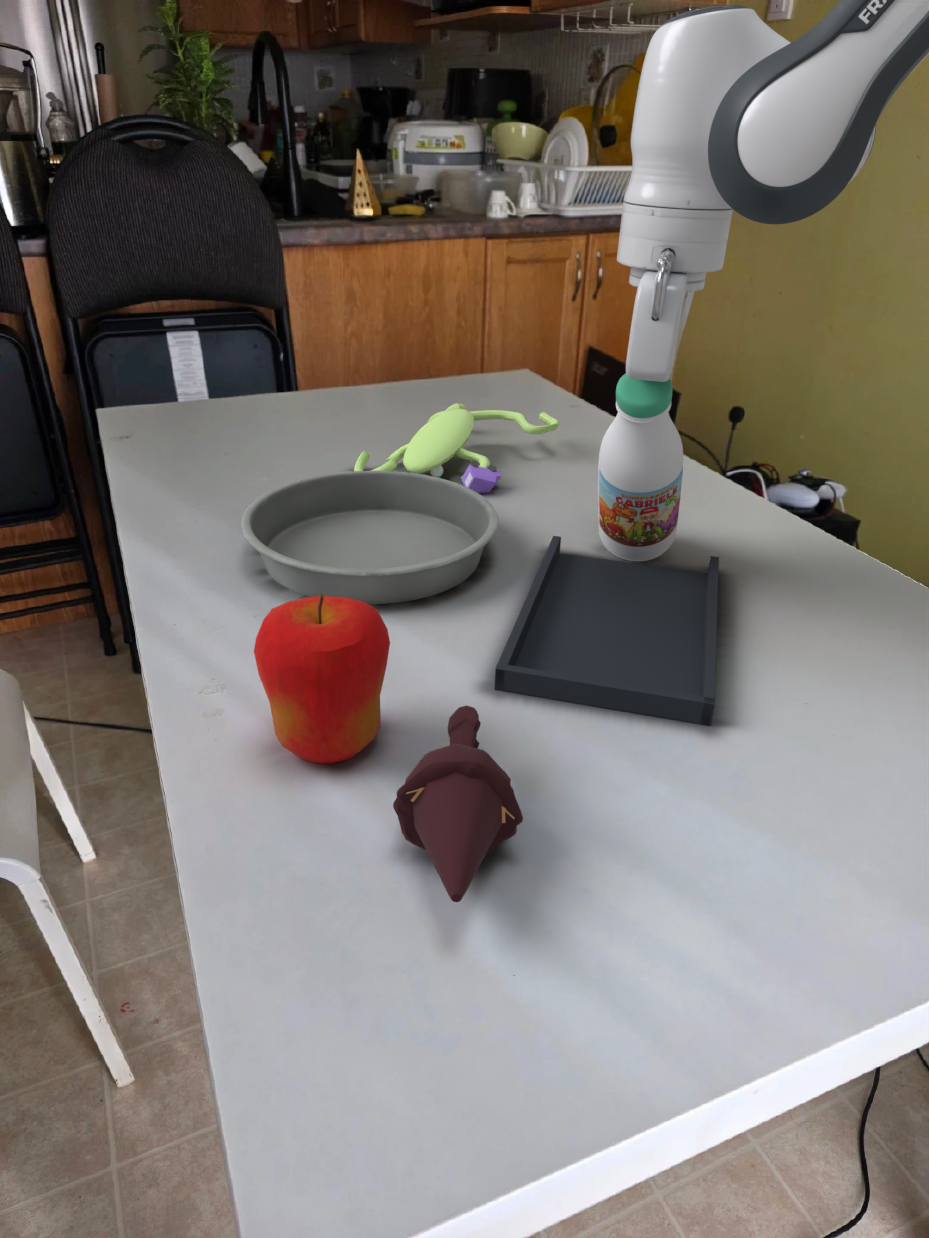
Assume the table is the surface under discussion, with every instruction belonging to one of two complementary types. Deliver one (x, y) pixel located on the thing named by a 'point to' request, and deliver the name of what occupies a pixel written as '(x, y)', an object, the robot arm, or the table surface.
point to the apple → (323, 675)
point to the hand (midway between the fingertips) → (648, 407)
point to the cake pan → (370, 534)
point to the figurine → (454, 445)
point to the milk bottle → (640, 472)
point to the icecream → (458, 805)
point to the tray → (616, 637)
